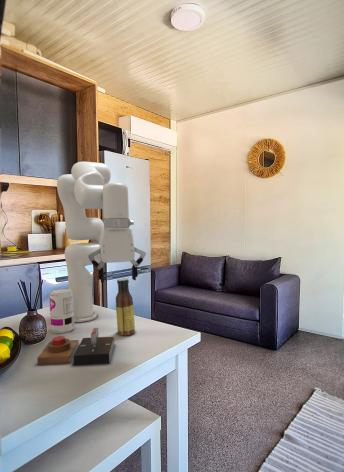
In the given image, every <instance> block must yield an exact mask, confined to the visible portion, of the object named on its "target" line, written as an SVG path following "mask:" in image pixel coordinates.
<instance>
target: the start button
mask: <svg viewBox="0 0 344 472" xmlns="http://www.w3.org/2000/svg"><path fill="white" fill-rule="evenodd" d="M65 339H66V336H65V335H56V336H54V337H53V338H52V340H53V345H62V344H65Z"/></svg>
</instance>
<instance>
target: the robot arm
mask: <svg viewBox="0 0 344 472" xmlns="http://www.w3.org/2000/svg"><path fill="white" fill-rule="evenodd" d="M111 175H112V174H111V169H110V167H109V166H108V165H107V164H105V163H103V162H93V161H78V162H76V163H74V164H73V165H72V167H71V172H70V174H69V173H67V174H62V175H60V176H58V178H57V180H56V191H57V194H58V198H59V200H60V203H61V205H62V208H63V214H64V215H63V216H64V225H65V232H66V236H67V238H68V239H69V240H70V241H93V242H75V243H71V244H69V245H67V246H66V247H65V249H64V259H65V263H66V264H65V265H66V270H67V285H68V287H67V289H70V290H71V292H72V293H73V311H74V323H86V322H90V321H92V320H95V319H96V318H98V317H97V316H98V314H97V311H94V305H93V303H94V302H93V278H92V274H91V272H90V271H89V270H88V269H87V268H86V266H94V267H95V268H96V269H97V273H98V275H97V276H98V280H100V283H102V284H103V283H104V282H105V280H104V279H105V278H104V277H105V276H104V268H103V267H104V266H105V265H106V264H109V263H110V264H111V263H113V264H114V263H128V262H130V263H131V264H132V266H131V279H132V280H133V281H137V278H138V277H139V276H138V274H139V273H138V272H139V271H138V267H139V266H140V265H141V264H142V262H143V261H144V259H145V257H146V254H147V252H146V251H144V250H142V249H139V248H137V247H135V243H134V242H135V241H134V236H133V235H134V234H133V230H132V228H130V227H131V226H134V225H135V221H134V220H131V219H130V217H129V216H130V213H129V209H130V208H129V189H128V188H129V187H128V186H127V184H125V183H121V182H110V181H111ZM86 210H102V215H103V220H102V219H101V218H99V217H87V214H86ZM135 253H136V254H138V255H139V257H138V258H137V259H135V256H136V255H135Z"/></svg>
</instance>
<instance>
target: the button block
mask: <svg viewBox="0 0 344 472" xmlns="http://www.w3.org/2000/svg"><path fill="white" fill-rule="evenodd" d="M79 345H80V341H79V339H76V340H75V339H71V340H70V339H69V338H65V344H62V345H53V339H52V340H51V341H48V343H47V344H46V346H45V347H44V349H43V350H42V351H41V353H40V354H39V355H38V356H37V358H36V360H37V366H45V365H63V364H64V365H65V364H70V363H71V362H72V360H73V359H74V357H73V356H74V354H75V352H76V350H77V348H78V346H79Z"/></svg>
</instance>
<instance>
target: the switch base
mask: <svg viewBox="0 0 344 472" xmlns="http://www.w3.org/2000/svg"><path fill="white" fill-rule="evenodd" d="M114 348H115V336H99V343H98V345H97V348H91V337H83V338H82V339H81V341H80V342H79V346H78V348H77V350H76V352H75V354H74V356H73V366H89V365H93V366H94V365H109V364H110V363H111V359H112V356H113V351H114Z"/></svg>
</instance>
